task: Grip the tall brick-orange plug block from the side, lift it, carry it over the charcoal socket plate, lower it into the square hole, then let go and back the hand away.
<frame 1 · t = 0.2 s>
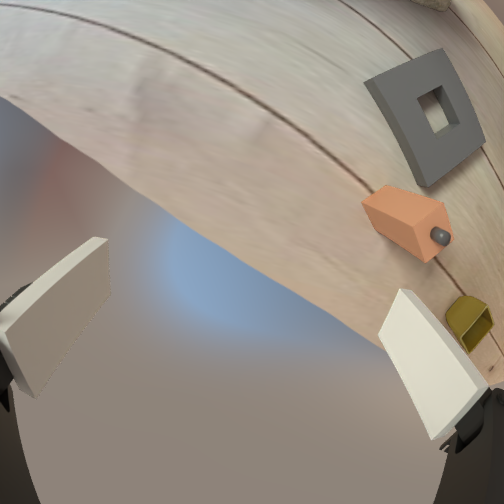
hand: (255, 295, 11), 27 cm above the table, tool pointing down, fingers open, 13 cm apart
socket: (429, 112, 33), on the table
flower pot: (455, 309, 46), on the table
plug: (380, 207, 38), on the table
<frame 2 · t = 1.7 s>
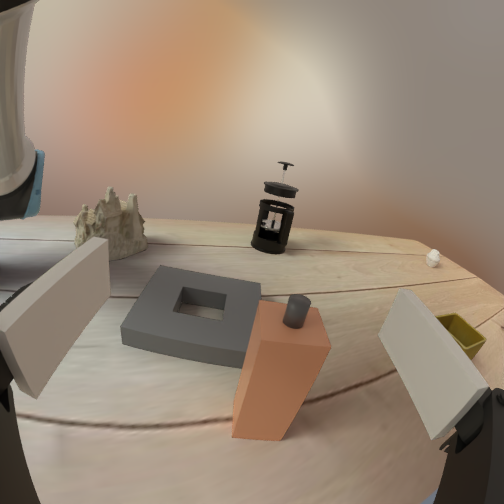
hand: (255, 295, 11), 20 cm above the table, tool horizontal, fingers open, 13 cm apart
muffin: (430, 266, 91), on the table
socket: (199, 318, 40), on the table
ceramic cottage: (110, 246, 57), on the table
flower pot: (433, 371, 35), on the table
french press: (268, 248, 74), on the table
plug: (256, 420, 25), on the table
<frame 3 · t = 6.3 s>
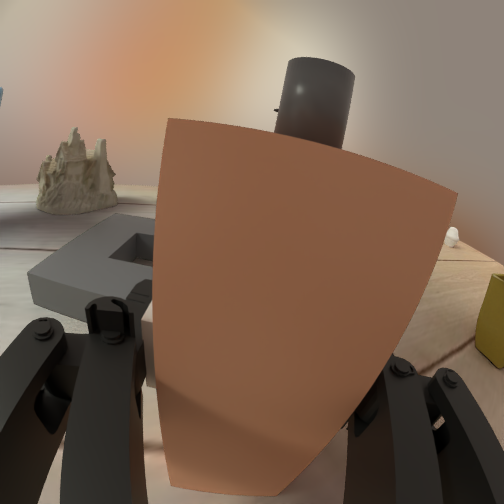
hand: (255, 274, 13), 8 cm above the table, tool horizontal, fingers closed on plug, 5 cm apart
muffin: (448, 246, 77), on the table
socket: (154, 277, 26), on the table
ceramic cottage: (74, 204, 44), on the table
flower pot: (491, 355, 21), on the table
plug: (226, 453, 11), on the table, touching gripper
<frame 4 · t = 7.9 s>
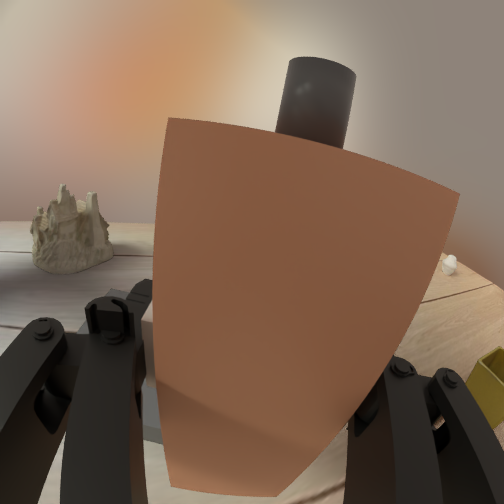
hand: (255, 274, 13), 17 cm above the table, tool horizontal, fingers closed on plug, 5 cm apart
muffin: (445, 274, 77), on the table
socket: (156, 368, 26), on the table
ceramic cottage: (70, 255, 44), on the table
flower pot: (469, 420, 21), on the table
plug: (226, 454, 11), point 9 cm above the table, touching gripper
when the fingers open (9 cm above the table, at t = 11.1 s): plug stays where it is, resting in socket.
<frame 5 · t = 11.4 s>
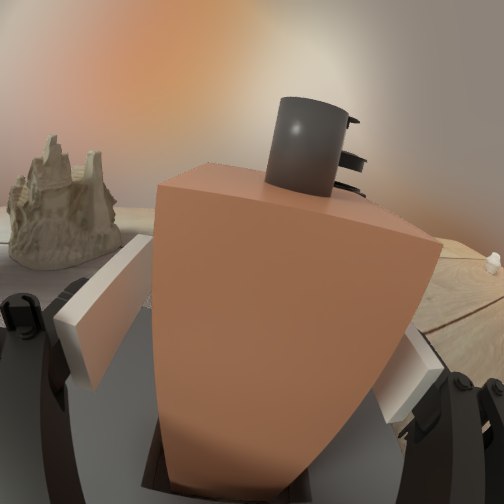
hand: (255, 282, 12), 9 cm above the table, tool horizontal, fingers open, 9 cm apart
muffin: (489, 273, 62), on the table
socket: (224, 460, 11), on the table
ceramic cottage: (61, 244, 30), on the table
french press: (317, 253, 45), on the table
plug: (224, 460, 11), resting in socket
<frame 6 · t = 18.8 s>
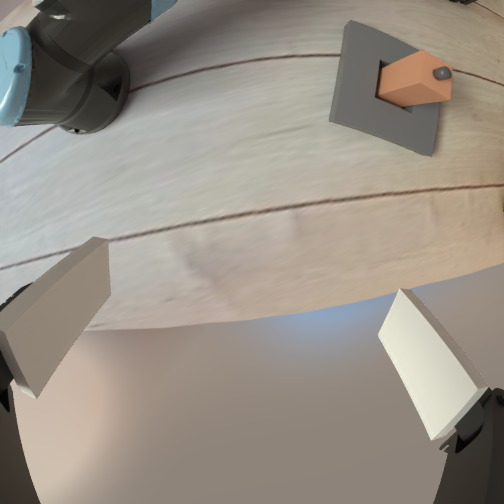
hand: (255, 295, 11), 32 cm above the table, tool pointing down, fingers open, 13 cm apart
socket: (388, 88, 34), on the table
plug: (388, 89, 34), resting in socket
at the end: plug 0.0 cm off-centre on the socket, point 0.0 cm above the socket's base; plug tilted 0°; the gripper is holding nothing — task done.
